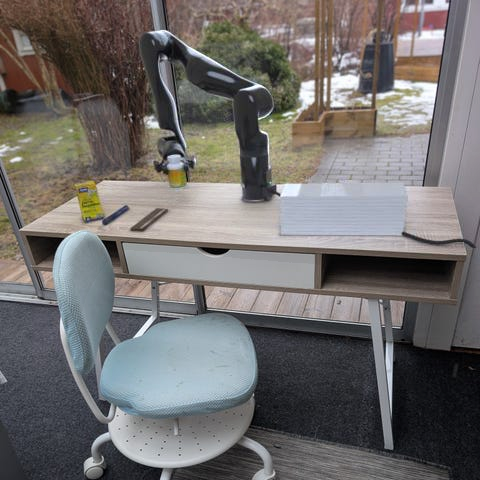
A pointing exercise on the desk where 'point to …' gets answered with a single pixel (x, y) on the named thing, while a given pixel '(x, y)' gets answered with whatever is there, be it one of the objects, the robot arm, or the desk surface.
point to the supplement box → (89, 201)
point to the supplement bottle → (176, 173)
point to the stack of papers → (343, 209)
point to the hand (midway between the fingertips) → (176, 170)
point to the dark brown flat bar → (149, 219)
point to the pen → (115, 215)
